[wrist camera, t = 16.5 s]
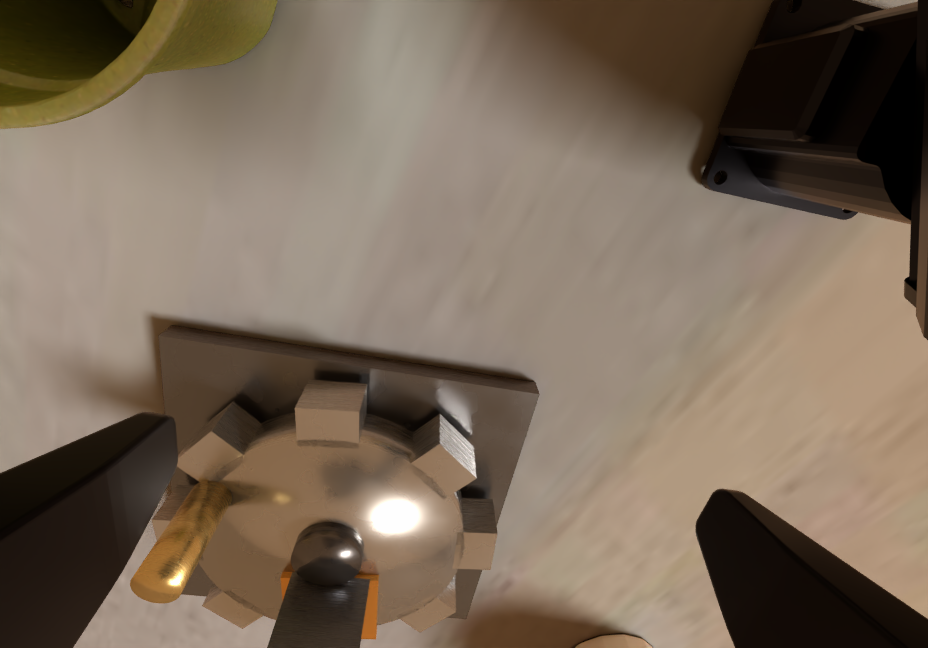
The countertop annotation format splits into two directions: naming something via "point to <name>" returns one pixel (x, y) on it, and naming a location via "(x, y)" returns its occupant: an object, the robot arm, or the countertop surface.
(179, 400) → the base plate
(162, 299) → the countertop surface
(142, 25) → the plant pot
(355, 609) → the taupe rectangular block
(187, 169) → the countertop surface
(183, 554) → the grey cog wheel
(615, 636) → the white cup
